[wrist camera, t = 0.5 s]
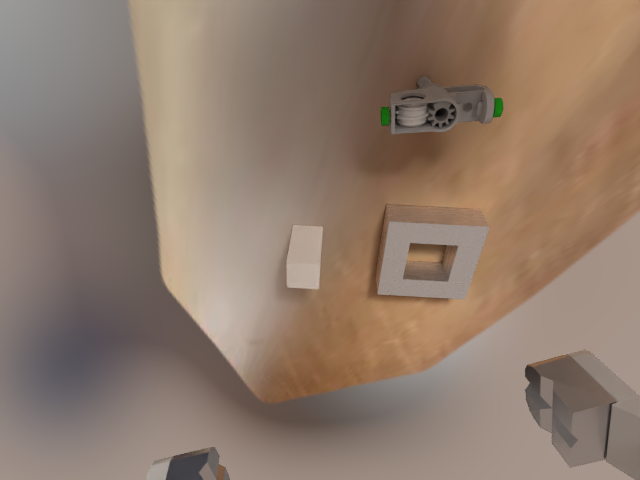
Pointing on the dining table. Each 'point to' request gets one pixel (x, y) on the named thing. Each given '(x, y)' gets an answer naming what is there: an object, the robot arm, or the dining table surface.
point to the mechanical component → (439, 107)
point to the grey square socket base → (429, 228)
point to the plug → (304, 257)
